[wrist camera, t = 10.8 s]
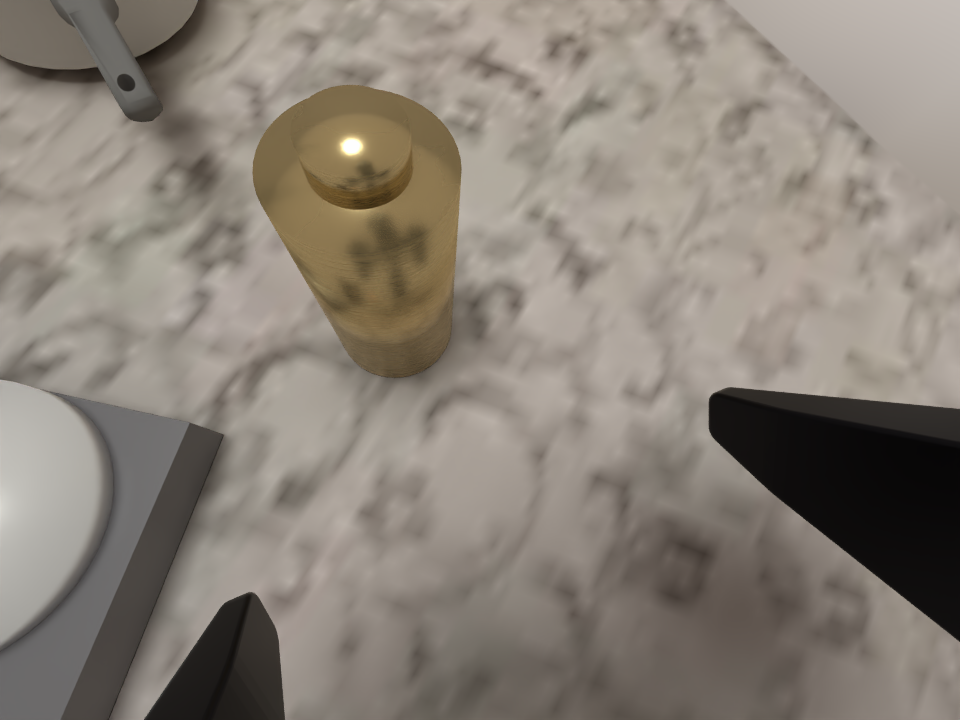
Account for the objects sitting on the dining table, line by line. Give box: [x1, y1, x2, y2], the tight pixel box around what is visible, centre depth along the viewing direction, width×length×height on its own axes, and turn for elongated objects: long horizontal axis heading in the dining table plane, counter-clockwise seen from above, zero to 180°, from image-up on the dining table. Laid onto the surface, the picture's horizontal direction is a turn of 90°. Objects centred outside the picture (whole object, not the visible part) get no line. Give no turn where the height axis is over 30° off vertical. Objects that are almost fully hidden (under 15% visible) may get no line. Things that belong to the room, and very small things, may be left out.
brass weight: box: [253, 85, 461, 378], centre depth 14 cm, size 5×5×10 cm
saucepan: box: [0, 0, 198, 122], centre depth 19 cm, size 12×20×6 cm, turn 34°
